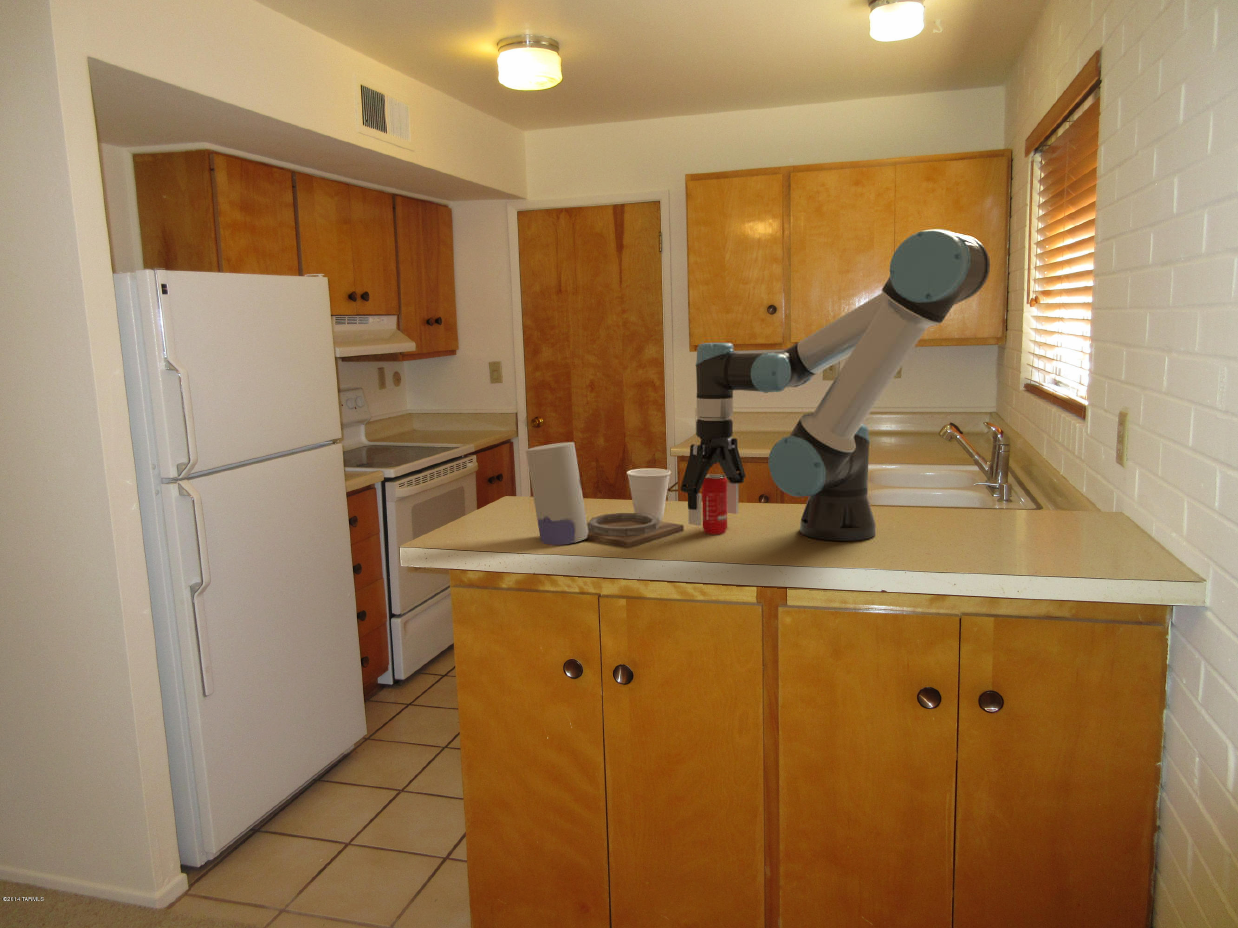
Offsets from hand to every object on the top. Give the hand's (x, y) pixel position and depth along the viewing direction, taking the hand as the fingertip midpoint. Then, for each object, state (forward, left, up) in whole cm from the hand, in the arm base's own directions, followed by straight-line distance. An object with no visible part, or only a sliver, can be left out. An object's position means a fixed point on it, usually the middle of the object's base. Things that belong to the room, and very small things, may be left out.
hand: (713, 518), depth 179 cm
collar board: (+15, +12, -3) cm, 19 cm away
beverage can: (0, 0, -3) cm, 3 cm away
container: (+21, +23, -3) cm, 32 cm away
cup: (+18, -1, -3) cm, 18 cm away
